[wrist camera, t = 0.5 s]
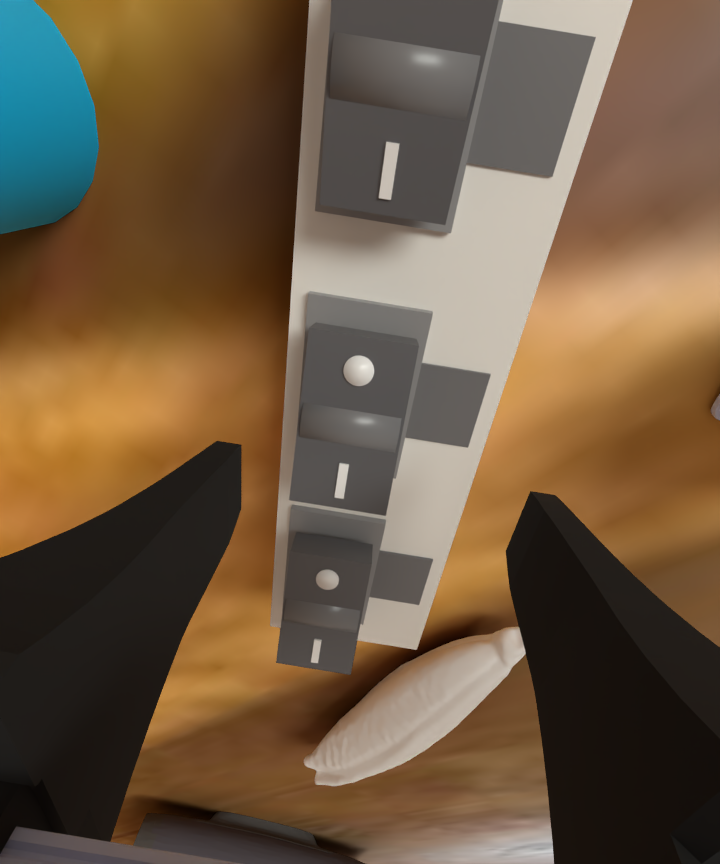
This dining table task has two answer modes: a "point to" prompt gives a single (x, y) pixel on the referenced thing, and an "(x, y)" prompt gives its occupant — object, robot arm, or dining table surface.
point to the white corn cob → (415, 707)
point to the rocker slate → (323, 602)
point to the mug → (41, 121)
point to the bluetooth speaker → (234, 840)
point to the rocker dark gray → (351, 417)
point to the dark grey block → (400, 102)
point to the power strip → (441, 287)
